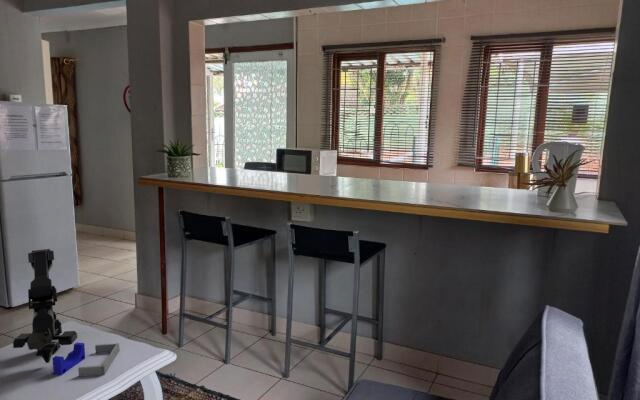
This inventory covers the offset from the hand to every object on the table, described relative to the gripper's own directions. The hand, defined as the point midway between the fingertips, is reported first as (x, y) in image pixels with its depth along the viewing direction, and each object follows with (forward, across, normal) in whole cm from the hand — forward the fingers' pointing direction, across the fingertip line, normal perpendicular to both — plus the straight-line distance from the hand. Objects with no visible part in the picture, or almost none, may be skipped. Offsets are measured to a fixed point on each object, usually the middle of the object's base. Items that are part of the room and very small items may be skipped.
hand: (47, 362), depth 160 cm
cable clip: (+2, +7, 0) cm, 7 cm away
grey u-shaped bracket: (+2, +17, 0) cm, 17 cm away
